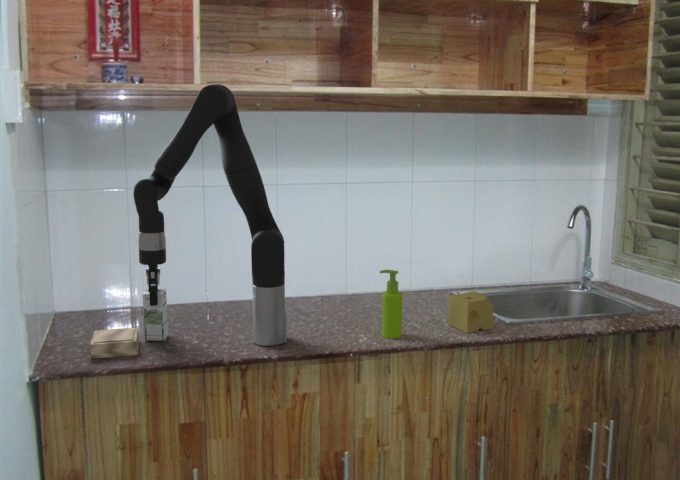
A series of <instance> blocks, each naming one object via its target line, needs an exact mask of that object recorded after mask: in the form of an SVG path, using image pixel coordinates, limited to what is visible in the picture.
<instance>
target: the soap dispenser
mask: <svg viewBox="0 0 680 480" xmlns="http://www.w3.org/2000/svg"><path fill="white" fill-rule="evenodd" d="M379 273H380V274H389V280H387V282H386V291H383V292H382V300H381V301H382V302H381V303H382V304H381V305H382V307H381V337H382V338H385V339H390V340H391V339H392V340H393V339H400V338H402V327H403V326H402V323H403V322H402V319H403V316H402V315H403V293H402V292H400V291H399V281H397V280H396V279H397V278H396V277H397V276H396V275H397V274H399V271H398V270H395V269H382V270H379Z"/></svg>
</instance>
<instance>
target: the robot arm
mask: <svg viewBox="0 0 680 480" xmlns="http://www.w3.org/2000/svg"><path fill="white" fill-rule="evenodd" d="M235 98H236V97H235V96H234V94H233V92H232V90H231V89H230V88H228V87H227V86H225V85H223V84H220V83H219V84H218V83H217V84H216V83H214V84H209V85H205V86H204V87H202V88H201V89H200V90H199V91H198V93H197V95H196V98H195V99H194V101H193V103H192V105H191V108H190V110H189V112H188V113H187V115H186V117H185V119H184V120H183V123H181V126H179V128H178V130H177V131H176V133H175V134H174V136H172V138H171V140H170V141H169V142H168V144H167V145H166V146H165V147H164V149H163V150H162V152H161V153H160V155H159V156H158V157H157V159H156V160H155V162H154V166H153V167H154V169H153V170H152V173H151V174H150V175H149V176H148V177H144V178H141V179H139V180H137V181H136V183H135V184H134V188H133V201H134V205H135V209H136V213H137V215H138V259H139V260H138V262H139V264H141V265H143V266H148V268H145V277H146V285H147V286H148V289H149V290H148V292H149V296H150V305H151V306H156V305H158V289H159V286H160V277H161V268H160V267H159V265H165V263H166V262H167V244H166V243H167V242H166V241H167V240H166V233H165V216H164V213H163V211H162V210H161V211H160V208H159V203H158V201H161V200H162V199H164V197H166V196H167V194H168V193H169V192H170V189H171V188H172V186H173V183H174V182H175V180H176V177H177V176H178V175H179V173H180V172H181V171H182V170H183V169H184V167H185V166H186V165H187V163H188V162H189V160H190V158H191V157H192V155H193V153H194V152H195V149H196V148H197V145H198V143H199V142H200V140H201V139H202V137H203V136H204V135H205V134H206V132H207V131H208V129H209V128H210V127H212V126H213V127H214V129H215V131H216V135H217V137H218V141H219V147H220V156H221V157H220V159H221V164H222V169H223V172H224V175H225V177H226V180H227V183H228V186H229V188H230V191H231V193H232V195H233V197H234V199H235V201H236V202H237V204H238V205H239V207H240V209H241V210H242V212H243V214H244V216H245V219H246V222H247V225H248V229H249V232H250V237H251V250H250V253H251V254H250V257H251V277H252V278H251V279H252V319H253V320H252V321H253V322H252V325H253V329H252V330H253V336H252V337H253V343H254V344H256V345H258V346H263V347H264V346H265V347H270V346H271V347H272V346H273V347H274V346H279V345H282V344H287V343H288V339H287V335H288V334H287V331H288V330H287V327H288V326H287V310H286V296H285V295H286V293H285V292H286V289H285V288H286V287H285V283H286V282H285V279H286V276H285V274H286V272H285V239H284V235H283V233H282V232H281V230H280V228H279V227H278V224H277V223H276V220H275V218H274V216H273V213H272V210H271V208H270V206H269V201H268V196H267V192H266V188H265V185H264V182H263V179H262V175H261V173H260V169H259V167H258V165H257V161H256V159H255V157H254V154H253V152H252V148H251V147H250V144H249V141H248V139H247V136H246V134H245V132H244V129H243V126H242V122H241V119H240V116H239V110H238V106H237V102H236V99H235Z"/></svg>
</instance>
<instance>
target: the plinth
mask: <svg viewBox="0 0 680 480" xmlns="http://www.w3.org/2000/svg"><path fill="white" fill-rule="evenodd" d="M139 343H140V334H139V327H127V328H126V327H124V328H110V329H99V330H94V332H93V335H92V338H91V340H90V344H89V347H90V349H89V350H90V359H91V360H92V359H103V358H116V357H128V356H131V357H132V356H137V355H138V353H139V351H138V350H139V345H140V344H139Z"/></svg>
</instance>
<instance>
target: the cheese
mask: <svg viewBox="0 0 680 480" xmlns="http://www.w3.org/2000/svg"><path fill="white" fill-rule="evenodd" d="M448 297H449V298H448V302H447V322H448V325H449V326H452V327H453V328H455V329H457V328H458V329H457V330H459V331H462V332H464V333H466V334H472V333H476V332H478V331H479V329H481V330H480V331H488V329H490V330H493V329H494V326H495V319H494V317H493V314H494V312H495V311H494V309H495V307H494V306H493V304H492V303H491V301H490V299H489V297H488V296H486V295H484V294H482V293H481V292H478V291H475V290H471V291H468V292H464V293H463V292H462V293H458V294H457V293H456V294H451V295H449V296H448ZM475 331H476V332H475ZM471 332H472V333H471Z"/></svg>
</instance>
